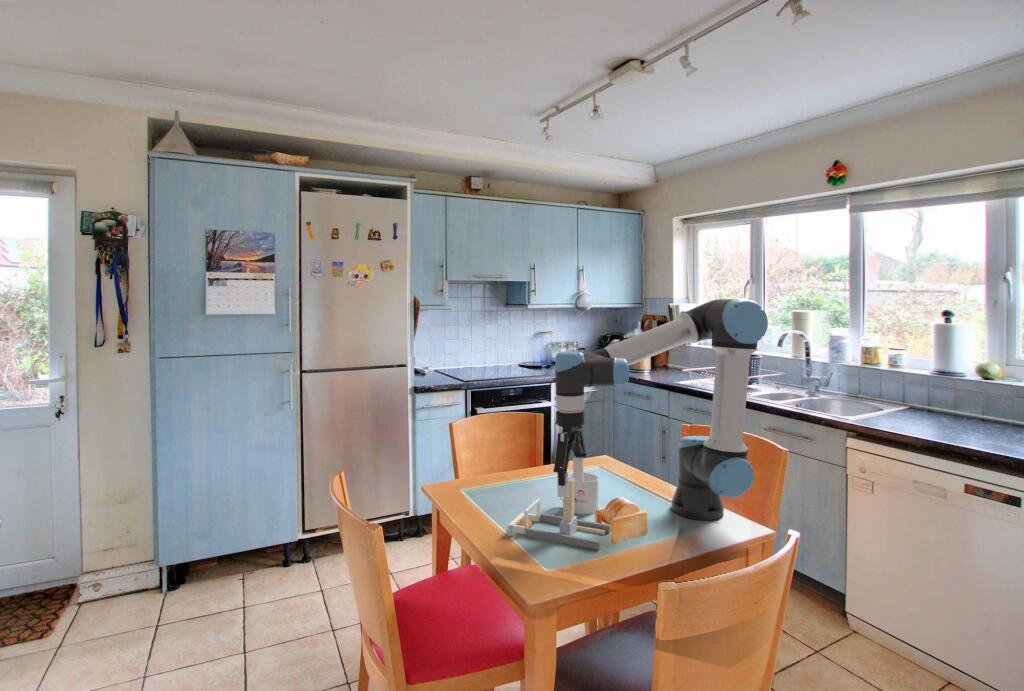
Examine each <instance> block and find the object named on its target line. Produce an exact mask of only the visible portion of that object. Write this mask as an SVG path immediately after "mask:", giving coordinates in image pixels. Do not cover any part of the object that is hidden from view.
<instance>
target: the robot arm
mask: <svg viewBox="0 0 1024 691" xmlns="http://www.w3.org/2000/svg"><path fill="white" fill-rule="evenodd" d="M678 316H679V317H678V318H676V319H674V320H671V321H668V322H666V323H664V324H660V325H659V326H656V327H653V328H651V329H648V330H645V331H643V332H640V333H639V334H635V335H633V336H631V337H628V338H625V339H622V340H621V341H618V342H616V343H613V344H611V345H608V346H606V347H603V348H601V349H597V350H595V351H592V352H591V351H589V352H584V353H583V352H581V351H562V352H561V351H560V352H558V353H557V354H556V355H555V366H554V372H555V373H554V377H555V397H553V399H554V401H555V408H556V412H555V424H556V425H557V426H558V427H561V428H562V431H561V432H558V433H557V442H556V451H555V459H554V465H553V466H554V468H553V473H556V474H557V477H556V478H557V479H556V481H557V487H556V488H557V497H558V498H560V497H564V498H568V497H569V490H568V478H569V471H568V468H569V462H570V458H571V452H572V453H573V455H574V456H573V458H572V461H573V465H572V468H573V469H572V470H573V471H572V472H573V473H572V474H573V479H575V480H576V481H584V476H583V473H584V458H586V457H587V449H586V444H585V439H584V433H583V425H584V424H585V411H584V410H585V388H600V387H618V386H619V387H620V386H625V385H627V383H629V382H628V381H629V379H630V367H629V366H632V365H634V364H637V363H640V362H642V361H644V360H646V359H649V358H651V357H654V356H656V355H659V354H661V353H664V352H666V351H667V352H668V351H669V350H672V349H674V348H677V347H679V346H682V345H684V344H687V343H691V344H696V343H699V342H701V341H705V340H711V348H712V349H713V350H714V351H715V353H716V357H715V371H714V380H713V394H712V405H711V406H712V407H711V419H710V429H709V436H708V435H707V436H706V435H690V436H689V435H688V436H683V437H681V438H680V440H679V444H678V468H677V469H678V473H677V474H678V478H677V480H678V481H677V486H676V489H675V491H674V494H673V497H672V500H671V510H672V511H673V512H674V513H675V514H676V515H679V516H681V517H684V518H686V519H692V520H698V521H713V520H718V519H720V518H723V517H724V514H725V513H724V509H725V508H724V503H723V499H722V497H724V498H727V499H729V498H730V499H733V498H738V497H740V496H743V495H744V494H745V493H746V492H747V491H749V490H750V489H751V487H752V485H753V483H754V480H755V470H754V468H753V466H752V464H751V463H750V462H749V461H748V453H749V451H748V450H749V448H748V446H746V444H745V443H744V442H743V441H744V429H745V420H746V419H745V418H746V417H745V416H746V406H747V395H748V387H749V386H748V384H749V383H748V382H749V372H750V362H751V356H752V355H753V354H754V353H755V352H756V351H757V350H758V342H759V341H761V340H762V338H763V337H764V336H765V335H766V333H767V331H768V328H769V327H768V325H769V321H768V316H767V313H766V312H765V310H764V308H762V306H761V305H760V304H759V303H758V302H756V301H755V300H751V299H746V298H745V299H744V298H728V299H724V298H723V299H722V298H721V299H720V298H719V299H717V298H716V299H713V300H709V301H707V302H705V303H703V304H700V305H698V306H696V307H694V308H691V309H689V310H686V311H685V312H681V313H680V314H679V315H678Z"/></svg>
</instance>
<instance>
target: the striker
mask: <svg viewBox="0 0 1024 691" xmlns="http://www.w3.org/2000/svg"><path fill="white" fill-rule="evenodd" d="M568 490H569V497H568V498H564V497H563V501H562V517H563V519H562V520H561V522H560V525H559V534H565V535H570V536H575V534H576V533H577V531H578V530H577V519H578V516H577V515H575V513H574V491H575V479H573V478H569V477H568Z"/></svg>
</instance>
